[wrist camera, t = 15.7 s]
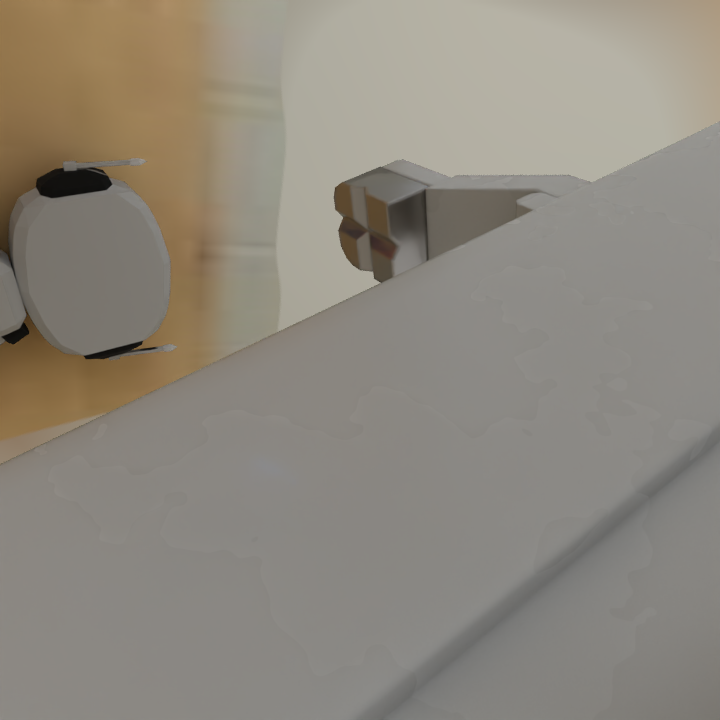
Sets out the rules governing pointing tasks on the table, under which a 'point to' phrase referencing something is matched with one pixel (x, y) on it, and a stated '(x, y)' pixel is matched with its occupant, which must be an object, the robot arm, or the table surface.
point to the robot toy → (85, 265)
